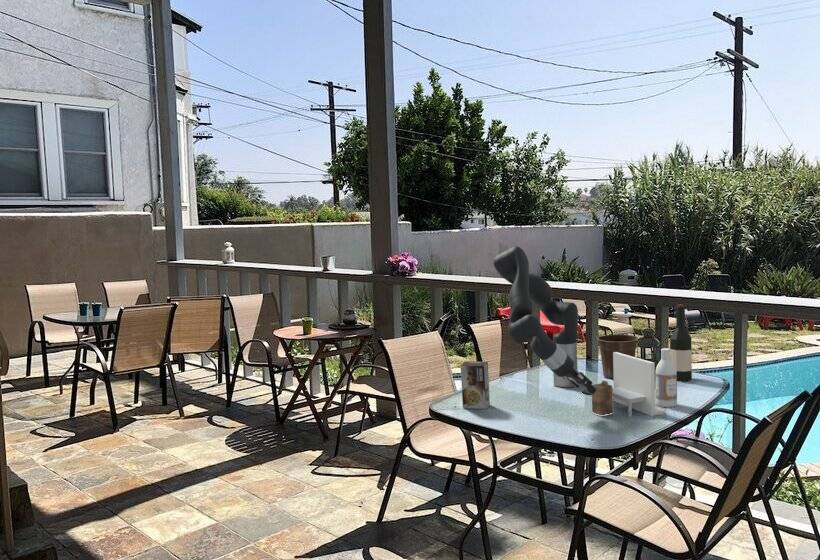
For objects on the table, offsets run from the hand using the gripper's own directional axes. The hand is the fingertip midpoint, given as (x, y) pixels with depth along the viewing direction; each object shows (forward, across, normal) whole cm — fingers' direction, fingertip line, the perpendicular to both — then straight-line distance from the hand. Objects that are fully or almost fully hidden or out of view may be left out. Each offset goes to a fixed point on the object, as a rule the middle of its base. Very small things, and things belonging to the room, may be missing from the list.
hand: (586, 388), depth 230 cm
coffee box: (-12, -30, -27) cm, 42 cm away
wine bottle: (+49, -22, +34) cm, 64 cm away
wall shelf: (+20, 0, +6) cm, 20 cm away
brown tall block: (+11, 0, -2) cm, 12 cm away
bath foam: (+29, +2, +15) cm, 33 cm away
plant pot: (+37, -38, +22) cm, 58 cm away
